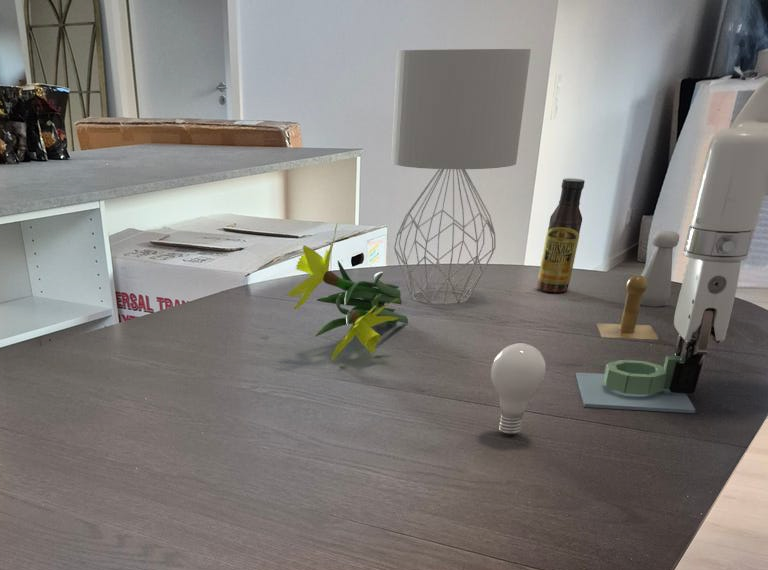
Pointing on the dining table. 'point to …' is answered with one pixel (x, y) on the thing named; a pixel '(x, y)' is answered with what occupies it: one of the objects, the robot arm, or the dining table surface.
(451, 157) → the table lamp
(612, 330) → the peg stand
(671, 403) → the mat
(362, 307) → the daffodil flowers
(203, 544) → the dining table surface
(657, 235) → the salt shaker
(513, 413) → the lightbulb
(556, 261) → the sauce bottle
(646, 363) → the ring
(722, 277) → the robot arm
